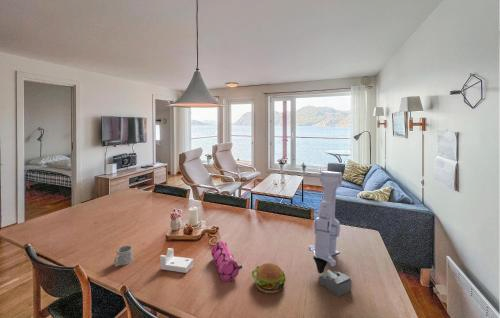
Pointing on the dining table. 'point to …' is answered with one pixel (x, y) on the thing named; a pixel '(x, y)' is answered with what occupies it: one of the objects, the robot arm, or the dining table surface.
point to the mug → (124, 256)
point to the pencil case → (225, 261)
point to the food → (269, 278)
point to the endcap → (337, 283)
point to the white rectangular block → (329, 274)
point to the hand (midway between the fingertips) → (320, 272)
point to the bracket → (175, 262)
